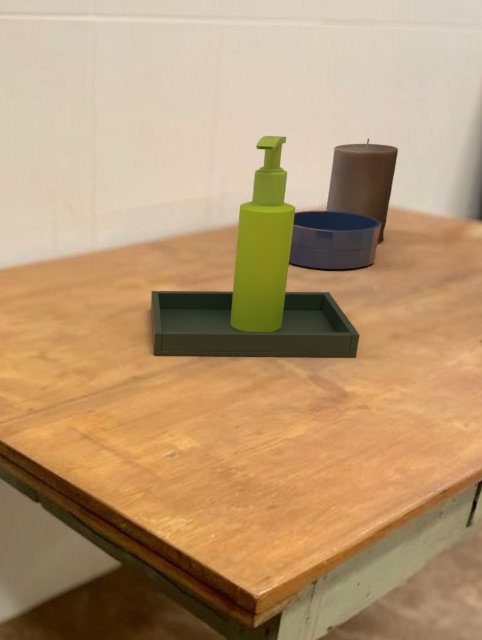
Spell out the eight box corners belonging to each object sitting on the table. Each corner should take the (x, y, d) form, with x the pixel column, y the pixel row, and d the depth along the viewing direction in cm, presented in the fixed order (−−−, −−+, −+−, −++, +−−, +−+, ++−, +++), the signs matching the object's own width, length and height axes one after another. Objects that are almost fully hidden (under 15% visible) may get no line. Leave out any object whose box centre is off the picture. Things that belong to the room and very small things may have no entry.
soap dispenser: (221, 331, 92) (237, 139, 82) (237, 314, 98) (253, 131, 87) (273, 338, 90) (295, 142, 80) (286, 320, 96) (308, 134, 85)
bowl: (361, 247, 128) (367, 210, 125) (385, 271, 116) (392, 231, 113) (271, 246, 128) (274, 210, 125) (285, 270, 116) (290, 231, 113)
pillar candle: (395, 242, 131) (414, 140, 123) (347, 248, 128) (363, 144, 120) (356, 229, 139) (371, 133, 131) (309, 235, 135) (322, 136, 127)
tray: (326, 312, 100) (329, 292, 99) (356, 357, 87) (359, 334, 86) (150, 310, 101) (151, 290, 99) (153, 355, 87) (154, 333, 86)
